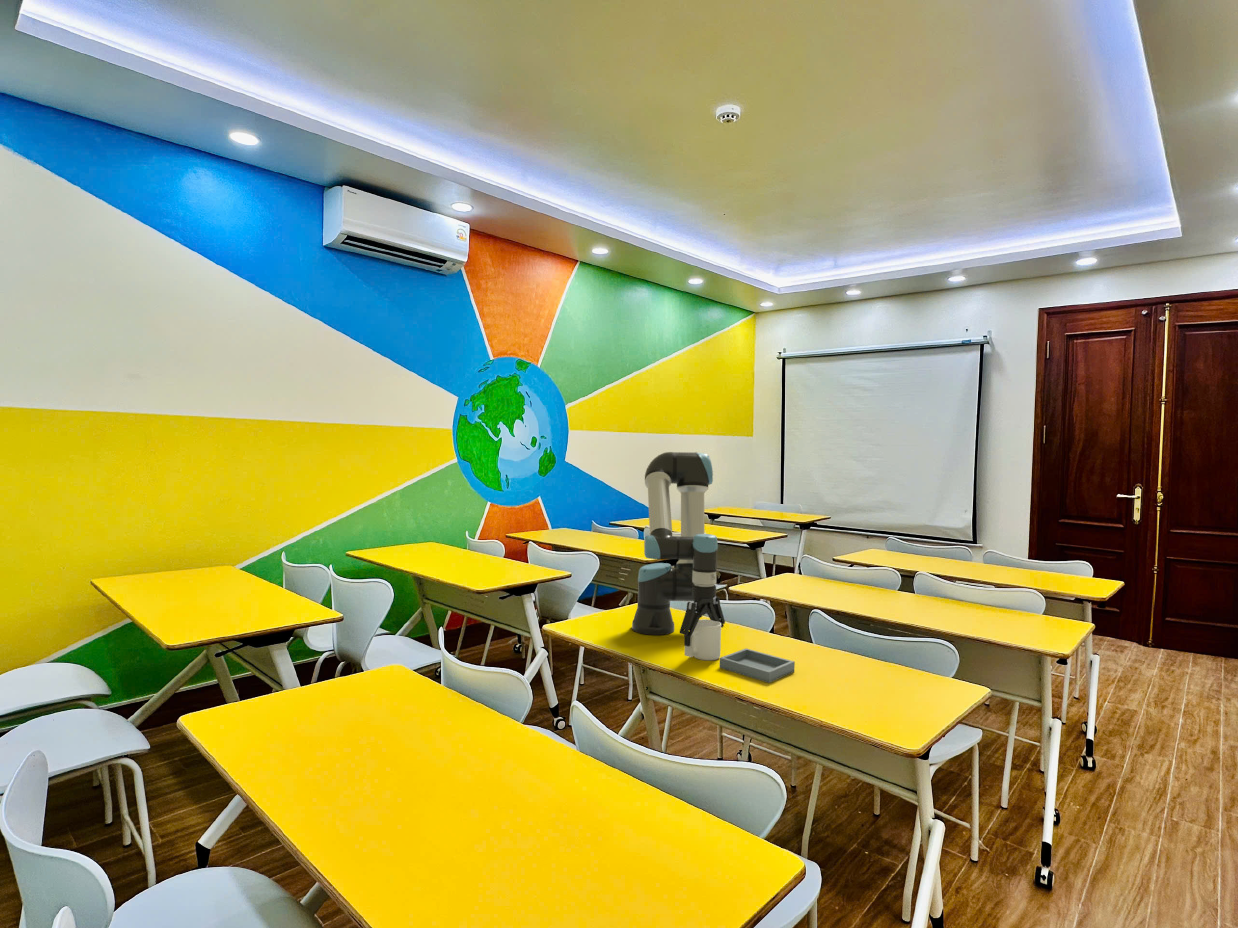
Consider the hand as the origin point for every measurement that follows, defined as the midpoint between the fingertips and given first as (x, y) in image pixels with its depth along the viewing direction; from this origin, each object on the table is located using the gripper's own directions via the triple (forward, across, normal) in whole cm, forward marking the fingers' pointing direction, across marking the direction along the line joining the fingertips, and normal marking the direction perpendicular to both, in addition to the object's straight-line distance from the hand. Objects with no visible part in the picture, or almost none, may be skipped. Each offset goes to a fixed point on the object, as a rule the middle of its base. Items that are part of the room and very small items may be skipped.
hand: (702, 651), depth 210 cm
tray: (+2, +3, -18) cm, 18 cm away
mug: (+2, 0, 0) cm, 2 cm away
